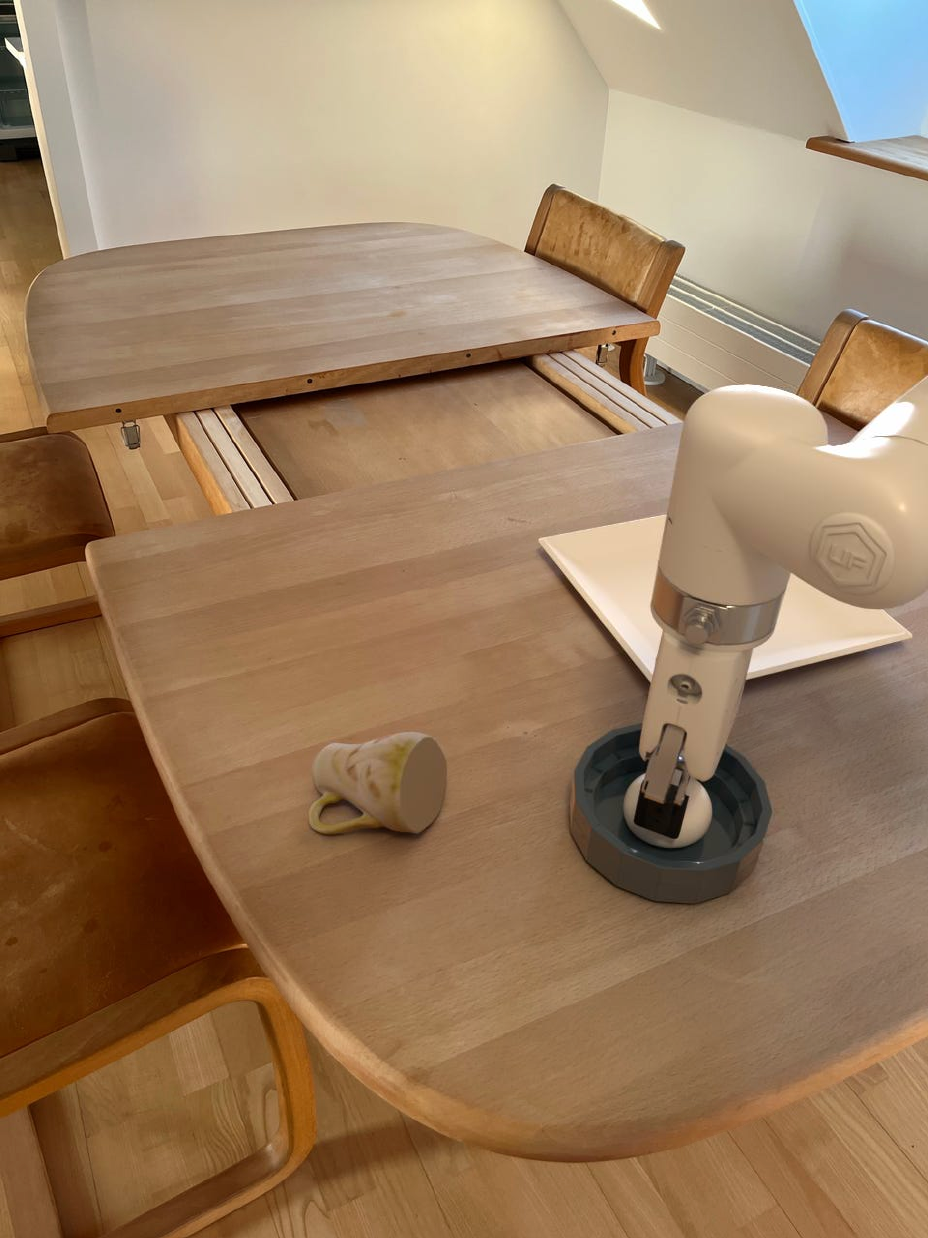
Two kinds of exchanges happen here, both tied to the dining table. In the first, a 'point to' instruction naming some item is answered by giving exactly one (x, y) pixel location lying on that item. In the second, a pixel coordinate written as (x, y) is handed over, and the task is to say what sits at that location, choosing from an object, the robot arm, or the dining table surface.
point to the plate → (621, 597)
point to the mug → (382, 782)
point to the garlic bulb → (694, 818)
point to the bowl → (657, 869)
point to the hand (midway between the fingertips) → (669, 796)
